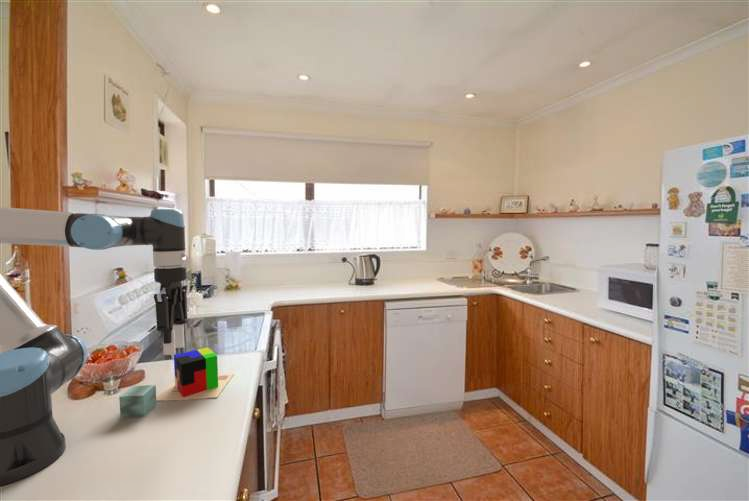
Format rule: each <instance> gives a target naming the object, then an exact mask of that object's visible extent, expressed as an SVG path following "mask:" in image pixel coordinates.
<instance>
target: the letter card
mask: <svg viewBox="0 0 749 501" xmlns="http://www.w3.org/2000/svg"><path fill="white" fill-rule="evenodd" d="M232 376H235V374H234V373H221V374H219V373H218V387H215V388H212V389H208V390H205V391H202V392H199V393H195V394H192V395H189V396H185V397H182V395H181V394H180V392H179V391H178V389H177V387H176V386H175V379H174V380H173V381H172V382H171V383H170V384H169V385H167V387H166V388H165V389H164V390H162V391H161V392H160V394H158V395H156V402H168V401H169V402H172V401H173V402H174V401H186V400H204V399H206V400H208V399H218V398H219V396H220V395H221V393H222V392H223V391H224V389H225V388H226V386H227V385H228V384H229V382H230V381H231V380H232V378H233V377H232ZM229 380H230V381H229Z"/></svg>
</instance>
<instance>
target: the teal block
mask: <svg viewBox="0 0 749 501" xmlns="http://www.w3.org/2000/svg"><path fill="white" fill-rule="evenodd" d="M156 387H157V386H156V384H149V385H148V384H147V385H132V386H131V387H130V388H129V389H127V390H126V391H124V392H123V393H122V394H121V395H120V396H118V397H119V399H118V400H119V412H120V413H119V415H120V419H131V418H145V417H146V416H147V415H148V414H149V413H150V412H151V411H152V410H153V409H154V408H155V407H156V406H157V401H156V397H157V392H156V391H157V390H156Z"/></svg>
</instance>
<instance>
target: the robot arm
mask: <svg viewBox="0 0 749 501" xmlns="http://www.w3.org/2000/svg"><path fill="white" fill-rule="evenodd" d="M184 220H185V218H184V213H183V211H181V210H180V209H175V208H174V209H172V208H171V209H169V208H156V209H155V208H154V209H152V210H150V215H149V216H120V215H118V216H117V215H108V214H101V213H82V212H79V213H77V212H68V211H57V210H56V211H55V210H45V209H43V210H42V209H32V208H31V209H30V208H29V209H28V208H20V207H19V208H16V207H6V206H5V207H4V206H0V244H7V245H9V244H10V245H11V244H12V245H26V246H27V245H30V246H50V247H69V248H70V247H71V248H72V247H73V248H83V249H88V250H95V251H99V250H107V249H111V248H118V247H119V248H120V247H127V246H130V247H131V246H132V247H133V246H152V258H153V260H152V262H153V266H154V267H155V268H154V269H153V277H154V282H155V283H160V287H159V293H155V294H154V295H153V300H154V303H155V317H156V330H157V332H159V333H160V332H161V333H162V347H163V355H164V356H172V355H173V356H174V355H176V354H177V352H176V350H177V349H183V348H185V346H186V345H185V329H184V328H185V327H184V324H187V323H188V305H187V304H188V302H187V300H188V299H187V290H188V286H187V285H183V283H182V282H183V281H186V280H187V276H188V275H187V267H186V266H185V265H186V264H187V260H186V258H187V257H188V255H187V254H186V237H185V236H186V234H185V233H186V230H185V228H186V226H185V221H184ZM87 359H88V348H87V345H86V344H85V342H84V341H83V340H82V339H81V338H80V337H78V336H75V335H74V334H71V335H70V334H68V333H64V332H63V331H62V330H61V329H60V328H59V326H57V325H54V324H46V323H45V322H44V321H43V320H42V319H41V318H40V317H39V316H38V314H36V312H35V311H34V310H33V309H32V307H30V305H29V304H28V303H27V302H26V301H25V299H24V298H23V297H22V296H21V295H20V294H19V292H17V291H16V289H15V288H14V287H13V286H12V285H11V284H10V283H9V282H8V280H7V279H6V278H5V277H4V276H3V275H2V274H1V273H0V487H1V486H5V485H8V484H11V483H14V482H17V481H19V480H22V479H25V478H27V477H29V476H32V475H33V474H35V473H37V472H40V471H42V470H44V469H45V468H46V467H48V466H50V465H51V464H52V463H54V462H56V460H58V459H59V458H60V457H61V456H62V455H63V454H64V453H65V451H66V449H67V446H66V445H67V444H66V437H65V435H64V433H62V431H61V430H60V428H59V426H58V424H57V422H56V420H55V419H54V415H53V402H52V400H53V399H52V394H54V393H55V392H56V391H58V390H59V389H60V388H61V387H63V386H64V385H65V384H66V383H67V382H69V381H71V380H73V379H74V378H75V377H76V376H77V375H78V374H79V372H80V371H81V370H82V369H83V368H84V367H85V365H86V363H87Z"/></svg>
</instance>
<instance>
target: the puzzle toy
mask: <svg viewBox="0 0 749 501" xmlns="http://www.w3.org/2000/svg"><path fill="white" fill-rule="evenodd" d="M173 364H174V368H173V369H174V380H175V386H176V387H177V389H178V391H179V392H180V394H181V395H182V397H185V396H189V395H192V394H195V393H199V392H202V391H205V390H208V389H212V388H215V387H218V375H219V373H218V372H219V369H218V355H217V354H216V353H215V352H214V351H213V350H211V349H210V348H209V347H202V348H199V349H193V350H191V351H189V350H188V351H185V352H181V353H176V354H175V355H173Z"/></svg>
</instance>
